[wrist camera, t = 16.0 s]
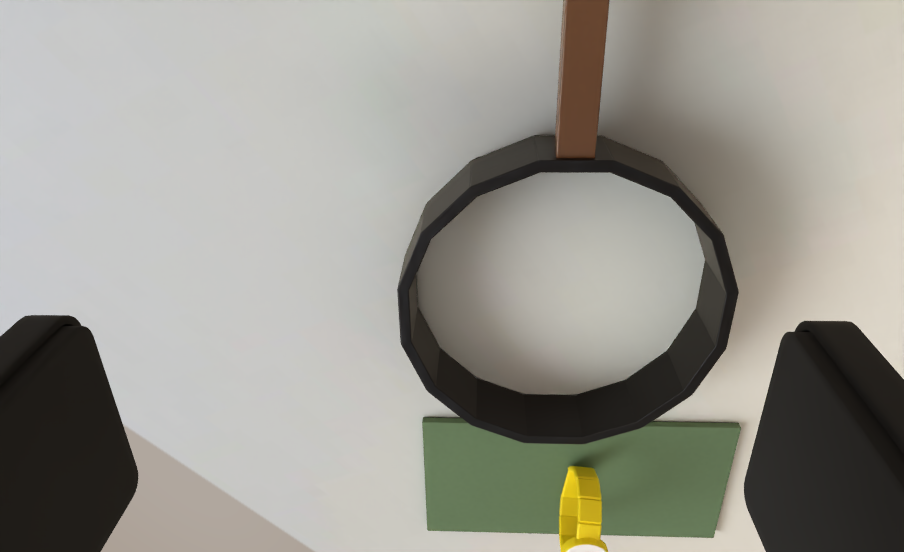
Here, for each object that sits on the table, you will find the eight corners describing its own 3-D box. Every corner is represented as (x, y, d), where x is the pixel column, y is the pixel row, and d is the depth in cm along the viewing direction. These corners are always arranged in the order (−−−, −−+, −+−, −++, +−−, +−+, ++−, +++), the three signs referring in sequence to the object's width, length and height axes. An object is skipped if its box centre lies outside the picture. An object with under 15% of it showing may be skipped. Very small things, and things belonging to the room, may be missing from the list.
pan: (687, 404, 42) (704, 447, 39) (412, 399, 43) (406, 441, 40) (789, -114, 29) (829, -117, 25) (385, -107, 29) (372, -109, 26)
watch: (561, 446, 44) (572, 520, 38) (604, 451, 44) (620, 525, 38) (546, 511, 46) (553, 588, 41) (586, 516, 46) (598, 593, 41)
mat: (738, 422, 43) (741, 428, 42) (711, 532, 47) (713, 538, 47) (423, 417, 43) (422, 422, 43) (427, 525, 48) (427, 530, 48)
